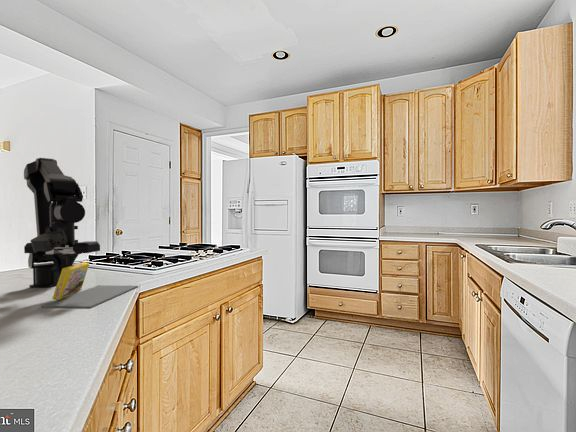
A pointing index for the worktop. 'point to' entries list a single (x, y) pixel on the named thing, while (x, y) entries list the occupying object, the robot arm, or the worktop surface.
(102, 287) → the mat
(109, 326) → the worktop surface
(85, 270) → the candy box
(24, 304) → the worktop surface
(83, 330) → the worktop surface
